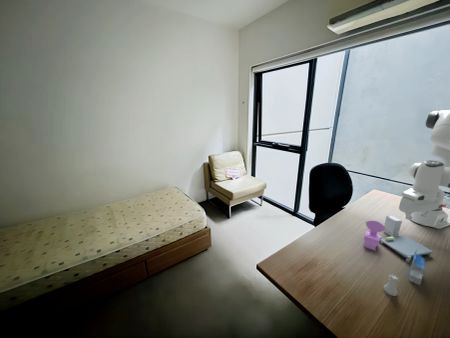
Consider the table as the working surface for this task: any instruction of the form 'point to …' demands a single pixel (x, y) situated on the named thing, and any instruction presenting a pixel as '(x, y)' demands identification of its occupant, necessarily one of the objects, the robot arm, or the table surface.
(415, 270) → the label tape box
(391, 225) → the skincare box
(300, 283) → the table surface
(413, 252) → the levelling deck
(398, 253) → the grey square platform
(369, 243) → the toy chair
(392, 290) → the rook chess piece
